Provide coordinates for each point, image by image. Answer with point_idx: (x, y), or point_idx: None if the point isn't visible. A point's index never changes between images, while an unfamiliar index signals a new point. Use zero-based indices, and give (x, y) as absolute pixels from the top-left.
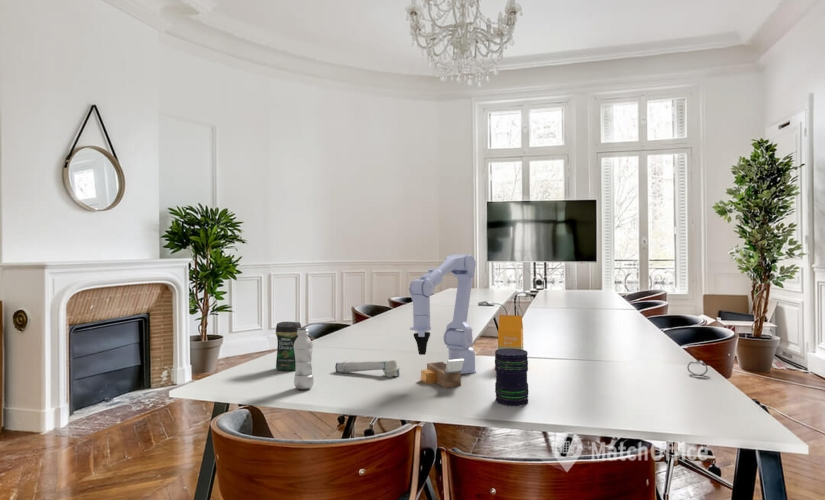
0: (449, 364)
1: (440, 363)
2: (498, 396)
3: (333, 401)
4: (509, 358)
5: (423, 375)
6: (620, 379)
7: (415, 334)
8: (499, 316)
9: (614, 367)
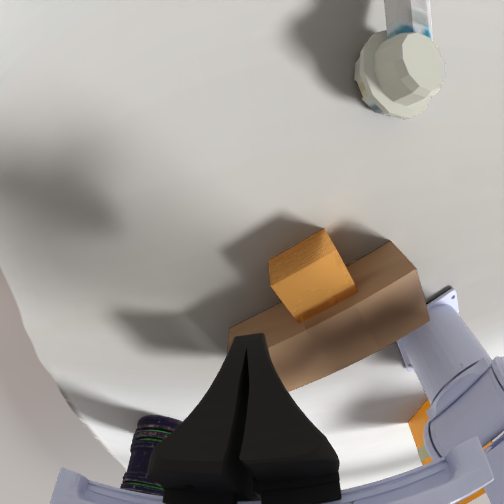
0: None
1: (405, 322)
2: (142, 428)
3: (8, 29)
4: None
5: (301, 258)
6: None
7: (172, 478)
8: None
9: (387, 474)
